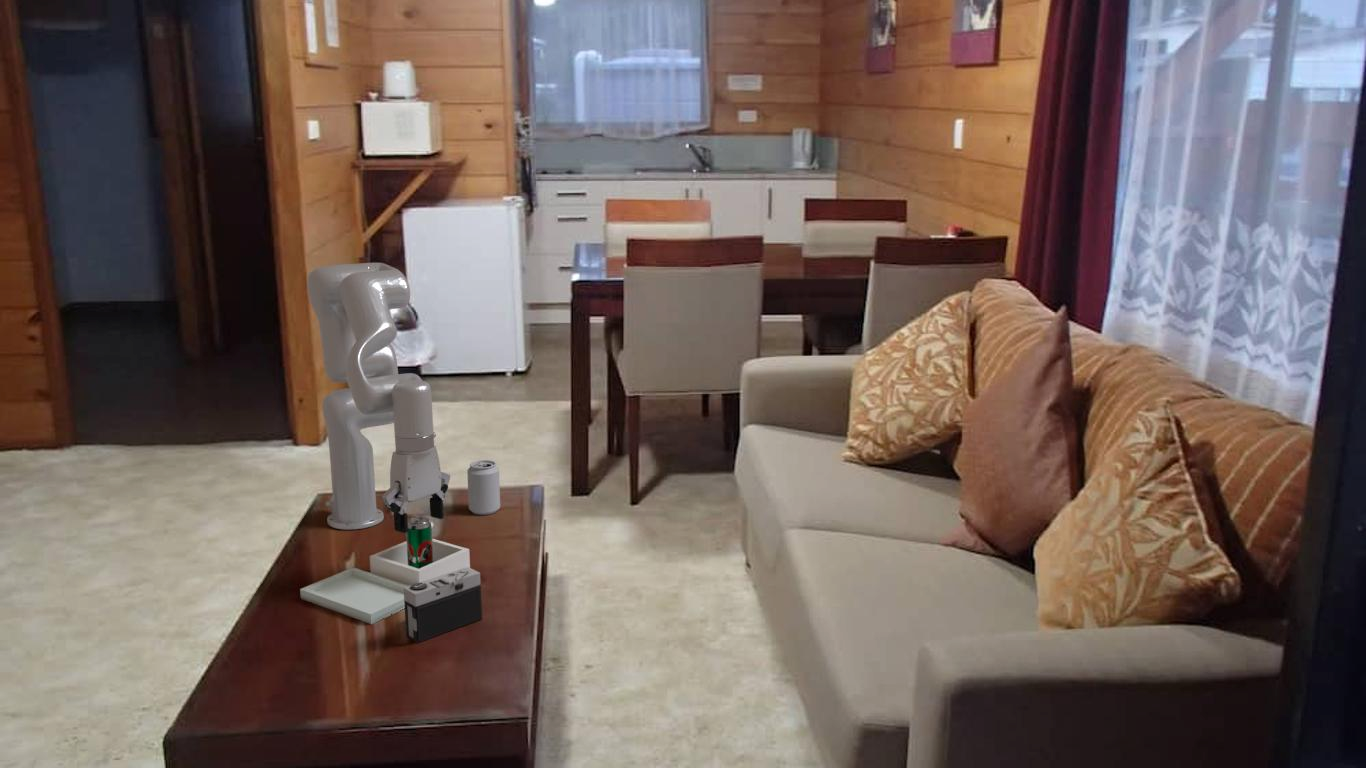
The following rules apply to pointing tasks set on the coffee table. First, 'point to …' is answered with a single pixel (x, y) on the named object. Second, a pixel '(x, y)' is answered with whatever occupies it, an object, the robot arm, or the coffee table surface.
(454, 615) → the camera
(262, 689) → the coffee table surface
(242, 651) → the coffee table surface
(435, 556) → the holder
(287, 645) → the coffee table surface
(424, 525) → the soda can
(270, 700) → the coffee table surface
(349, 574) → the tray
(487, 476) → the can
